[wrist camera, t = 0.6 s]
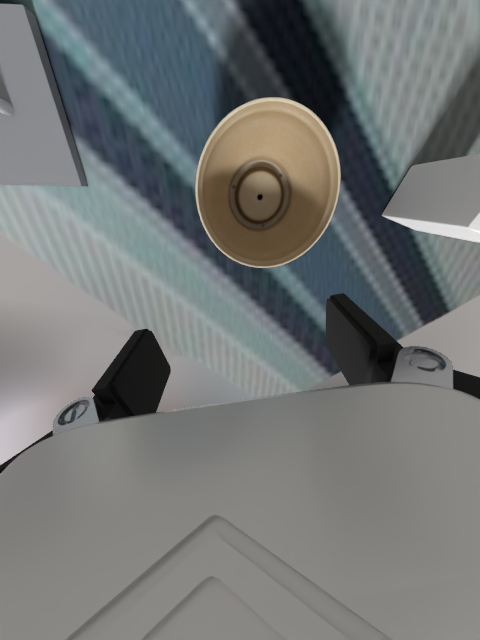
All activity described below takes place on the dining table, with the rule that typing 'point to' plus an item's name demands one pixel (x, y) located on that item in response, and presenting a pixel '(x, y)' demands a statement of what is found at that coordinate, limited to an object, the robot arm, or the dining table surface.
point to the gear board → (32, 109)
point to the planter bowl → (267, 182)
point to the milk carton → (440, 198)
